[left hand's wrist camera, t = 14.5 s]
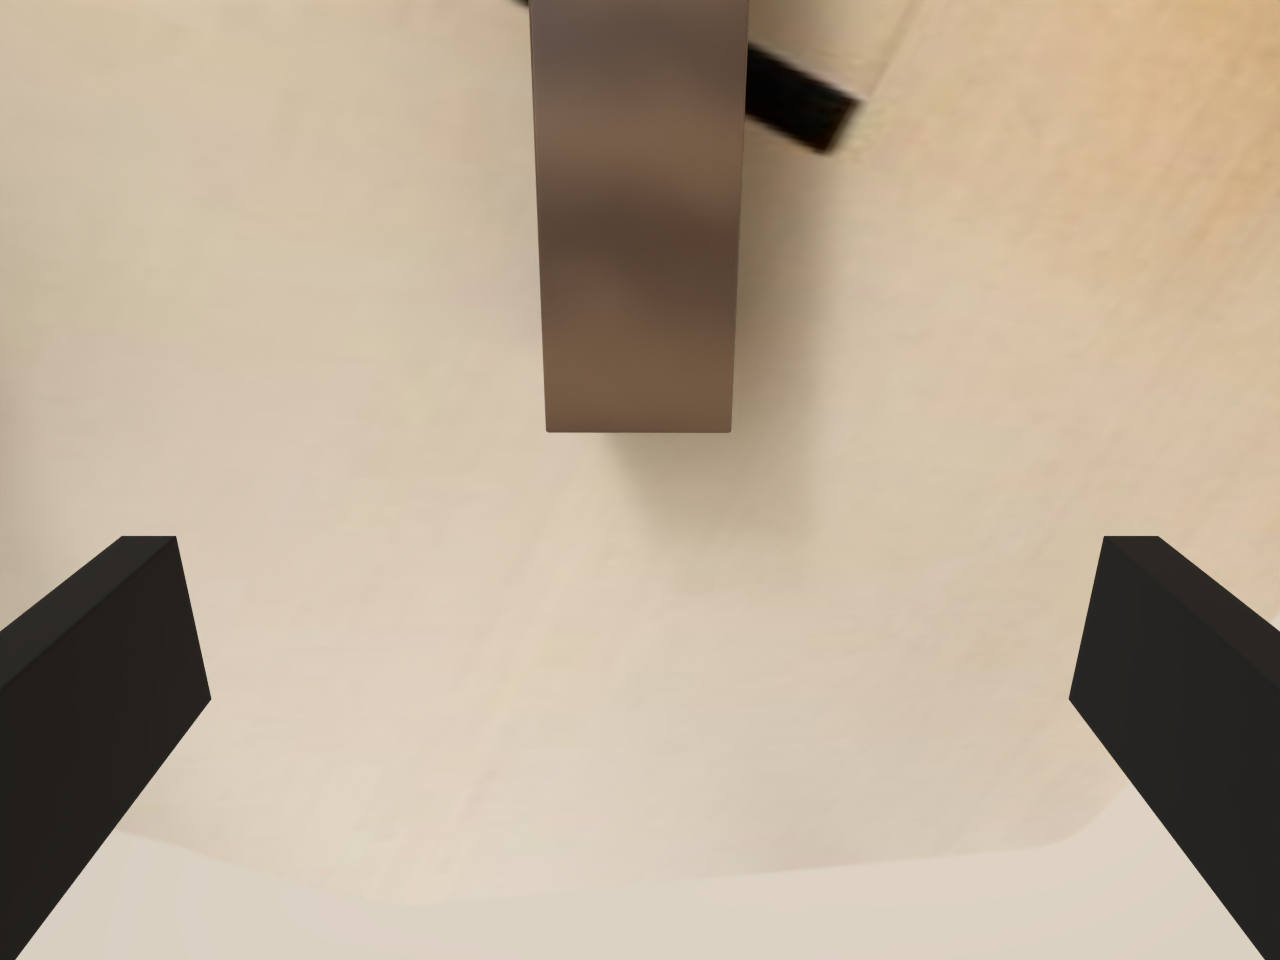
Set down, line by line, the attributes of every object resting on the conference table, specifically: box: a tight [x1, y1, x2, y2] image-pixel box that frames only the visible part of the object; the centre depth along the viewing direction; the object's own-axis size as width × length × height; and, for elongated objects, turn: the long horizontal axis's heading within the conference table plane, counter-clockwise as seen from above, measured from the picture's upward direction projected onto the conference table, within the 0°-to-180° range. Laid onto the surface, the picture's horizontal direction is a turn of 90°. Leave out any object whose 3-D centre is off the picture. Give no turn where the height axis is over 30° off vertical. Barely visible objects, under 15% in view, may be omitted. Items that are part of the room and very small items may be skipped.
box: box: [529, 0, 749, 433], centre depth 31 cm, size 22×6×10 cm, turn 0°
